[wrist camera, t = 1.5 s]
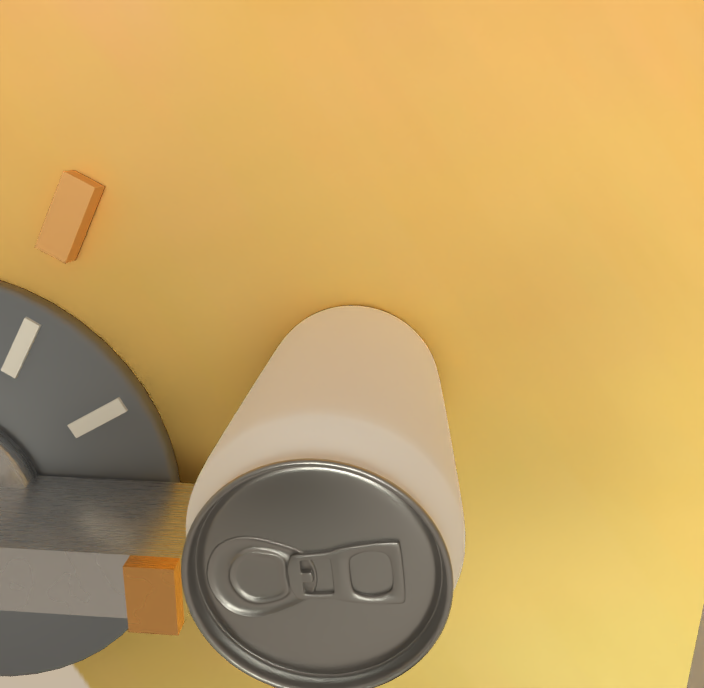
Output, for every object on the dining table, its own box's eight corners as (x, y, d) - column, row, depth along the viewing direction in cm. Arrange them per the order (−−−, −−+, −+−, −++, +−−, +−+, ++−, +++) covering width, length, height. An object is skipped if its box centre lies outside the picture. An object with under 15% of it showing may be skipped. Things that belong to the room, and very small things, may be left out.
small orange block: (75, 259, 24) (65, 263, 23) (46, 244, 24) (34, 247, 23) (104, 186, 23) (94, 187, 22) (74, 170, 23) (63, 170, 22)
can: (258, 309, 24) (131, 451, 13) (433, 294, 23) (466, 429, 12) (282, 467, 26) (188, 716, 14) (445, 456, 25) (483, 709, 14)
